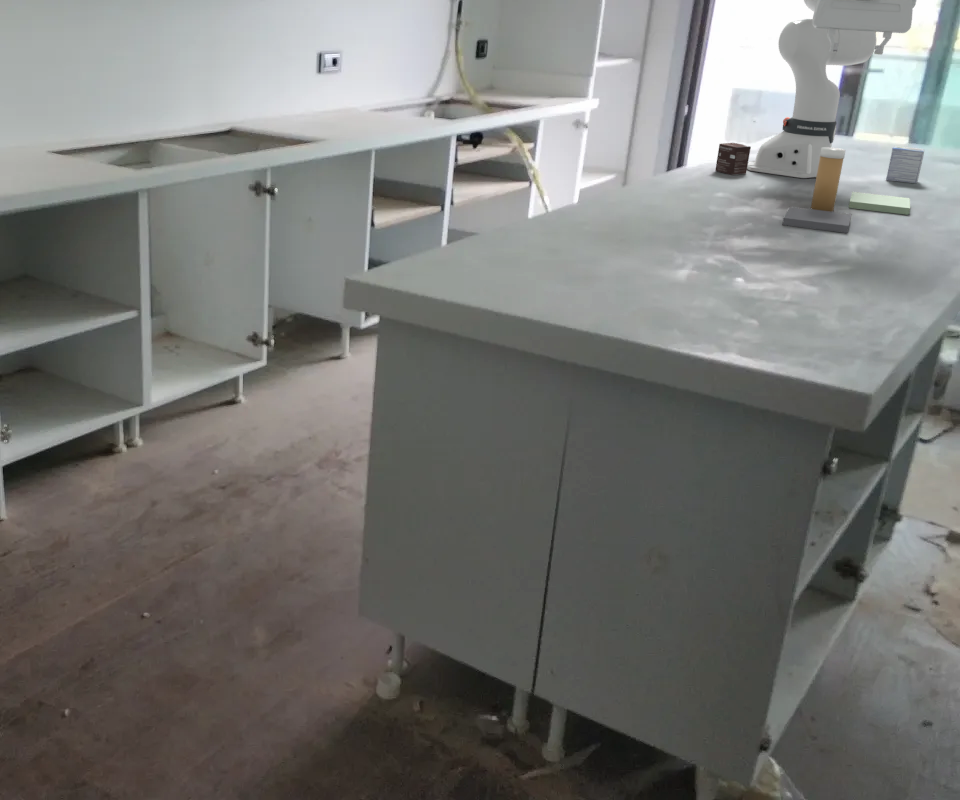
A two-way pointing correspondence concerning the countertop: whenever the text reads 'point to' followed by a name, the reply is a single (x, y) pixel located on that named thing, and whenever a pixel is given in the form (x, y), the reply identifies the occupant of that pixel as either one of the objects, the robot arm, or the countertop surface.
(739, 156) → the box
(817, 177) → the pill bottle
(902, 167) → the medicine box
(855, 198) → the tile
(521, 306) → the countertop surface
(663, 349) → the countertop surface
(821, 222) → the tile
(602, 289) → the countertop surface
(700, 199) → the countertop surface
